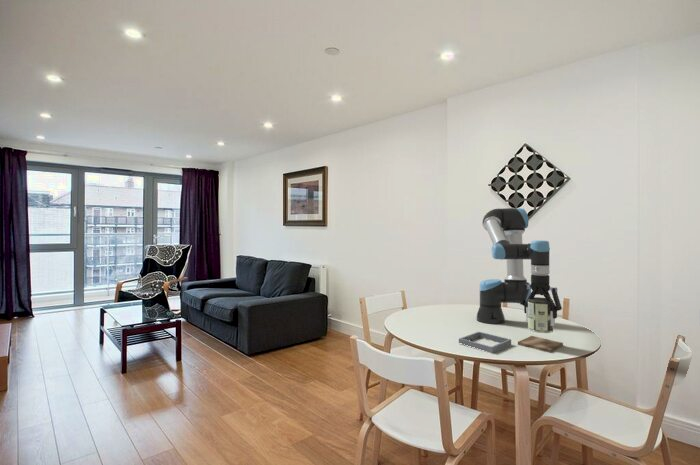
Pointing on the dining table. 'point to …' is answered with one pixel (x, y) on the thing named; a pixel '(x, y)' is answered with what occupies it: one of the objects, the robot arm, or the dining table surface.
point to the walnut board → (540, 343)
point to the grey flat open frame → (503, 343)
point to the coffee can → (539, 315)
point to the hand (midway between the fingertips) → (540, 322)
